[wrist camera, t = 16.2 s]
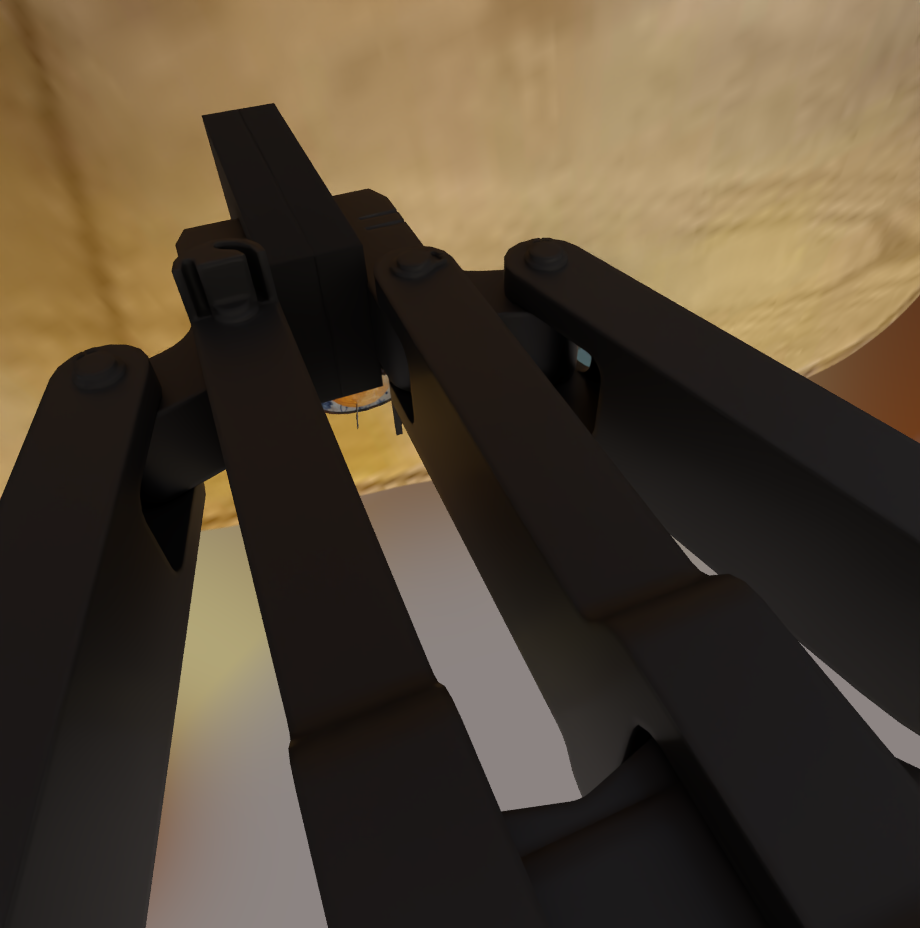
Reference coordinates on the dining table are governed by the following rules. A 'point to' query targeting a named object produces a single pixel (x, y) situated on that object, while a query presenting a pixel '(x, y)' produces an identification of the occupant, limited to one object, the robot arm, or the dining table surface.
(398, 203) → the dining table surface
